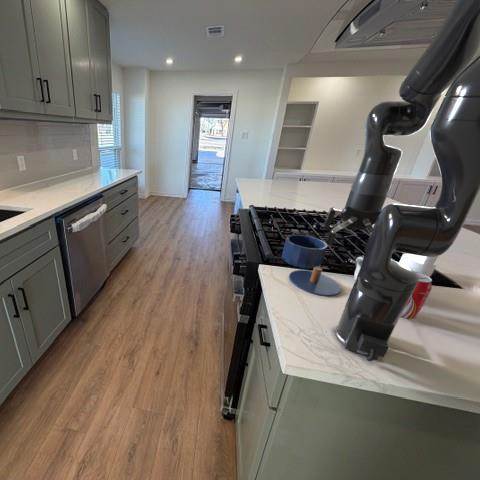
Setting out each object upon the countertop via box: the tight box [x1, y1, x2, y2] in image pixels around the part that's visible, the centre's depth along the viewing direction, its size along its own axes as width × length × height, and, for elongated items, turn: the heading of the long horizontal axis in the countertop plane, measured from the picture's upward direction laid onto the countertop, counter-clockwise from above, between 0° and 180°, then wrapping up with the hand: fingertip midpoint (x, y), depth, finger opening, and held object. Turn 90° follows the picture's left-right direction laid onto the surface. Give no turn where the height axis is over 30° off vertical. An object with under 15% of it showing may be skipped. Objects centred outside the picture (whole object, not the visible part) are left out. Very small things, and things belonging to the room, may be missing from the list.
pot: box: [281, 234, 328, 270], centre depth 96 cm, size 14×14×8 cm
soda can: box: [400, 271, 433, 320], centre depth 68 cm, size 7×7×12 cm
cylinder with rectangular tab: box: [398, 253, 439, 278], centre depth 89 cm, size 9×9×12 cm
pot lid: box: [288, 266, 341, 297], centre depth 82 cm, size 15×15×6 cm
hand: (347, 247), depth 71 cm, fingers open, 8 cm apart
